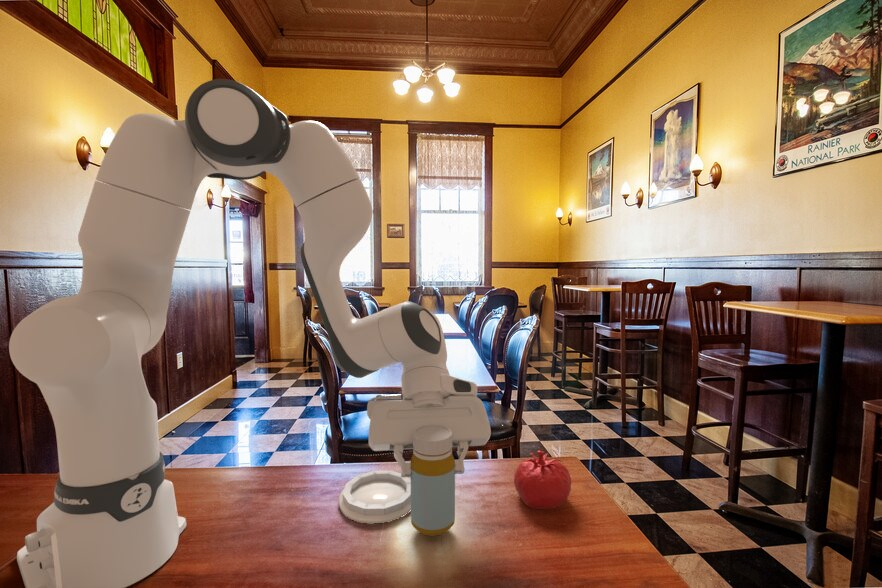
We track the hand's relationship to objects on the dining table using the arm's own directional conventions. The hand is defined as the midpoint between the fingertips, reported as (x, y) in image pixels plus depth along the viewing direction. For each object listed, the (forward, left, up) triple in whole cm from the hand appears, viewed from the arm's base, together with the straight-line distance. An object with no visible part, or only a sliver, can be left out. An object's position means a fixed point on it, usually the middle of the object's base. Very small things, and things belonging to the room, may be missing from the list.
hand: (433, 474), depth 65 cm
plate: (-13, +4, -10) cm, 17 cm away
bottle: (0, +1, -9) cm, 9 cm away
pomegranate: (+13, +18, -10) cm, 24 cm away
